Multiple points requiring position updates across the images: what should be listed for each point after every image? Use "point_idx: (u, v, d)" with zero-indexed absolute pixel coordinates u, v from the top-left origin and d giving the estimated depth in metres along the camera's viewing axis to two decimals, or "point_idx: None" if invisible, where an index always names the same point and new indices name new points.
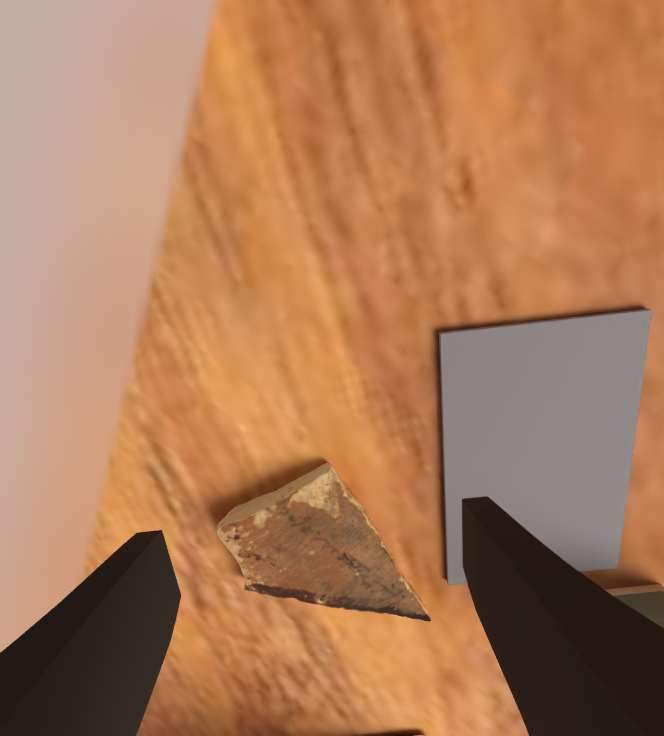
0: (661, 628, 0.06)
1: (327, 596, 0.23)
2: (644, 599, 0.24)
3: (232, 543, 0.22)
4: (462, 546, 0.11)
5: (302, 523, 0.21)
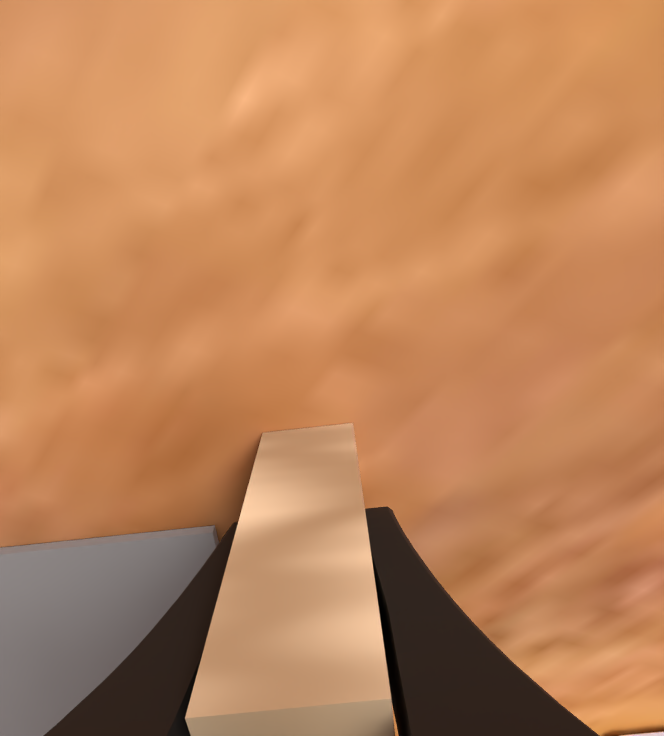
0: (490, 645, 0.06)
1: None
2: None
3: None
4: None
5: None
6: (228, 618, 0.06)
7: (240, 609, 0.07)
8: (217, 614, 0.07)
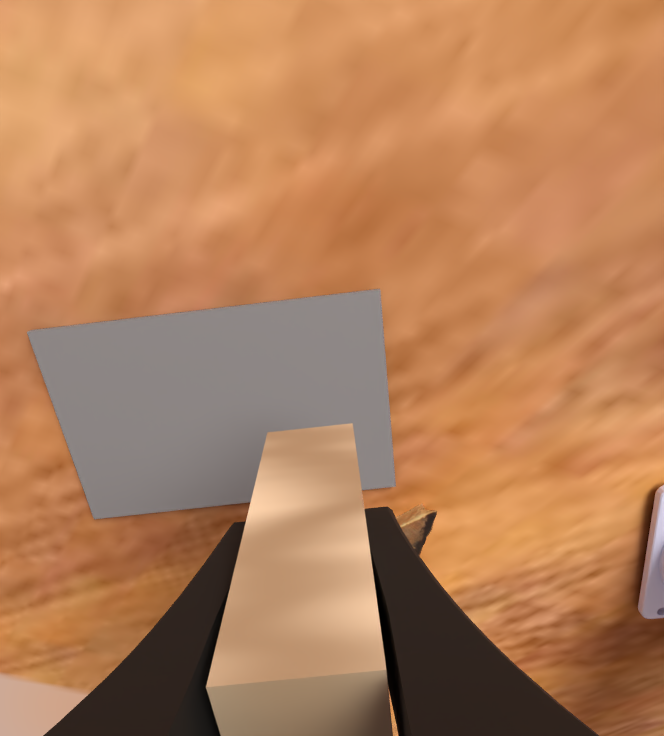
0: (490, 645, 0.06)
1: None
2: None
3: None
4: None
5: None
6: (241, 602, 0.07)
7: (251, 594, 0.07)
8: (230, 599, 0.07)
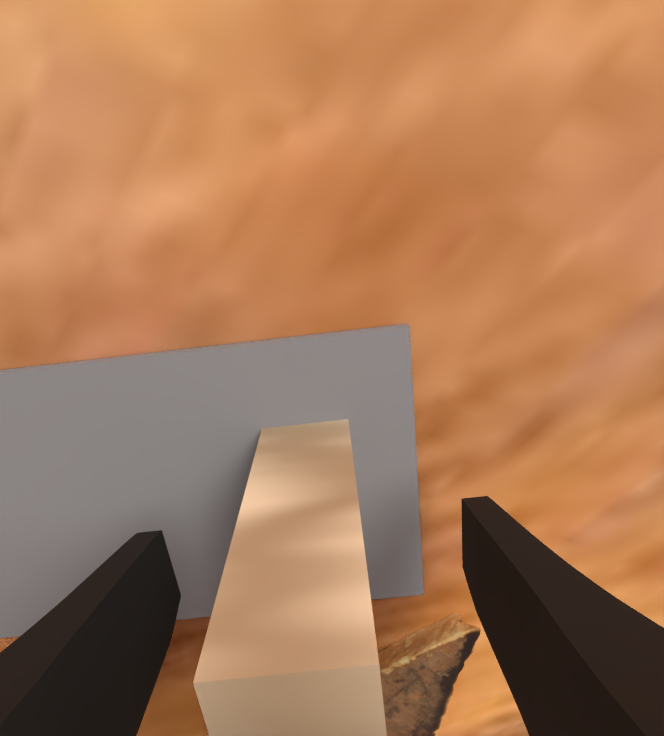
0: (661, 628, 0.06)
1: None
2: None
3: None
4: (462, 546, 0.11)
5: None
6: (231, 597, 0.07)
7: (242, 589, 0.07)
8: (221, 593, 0.07)
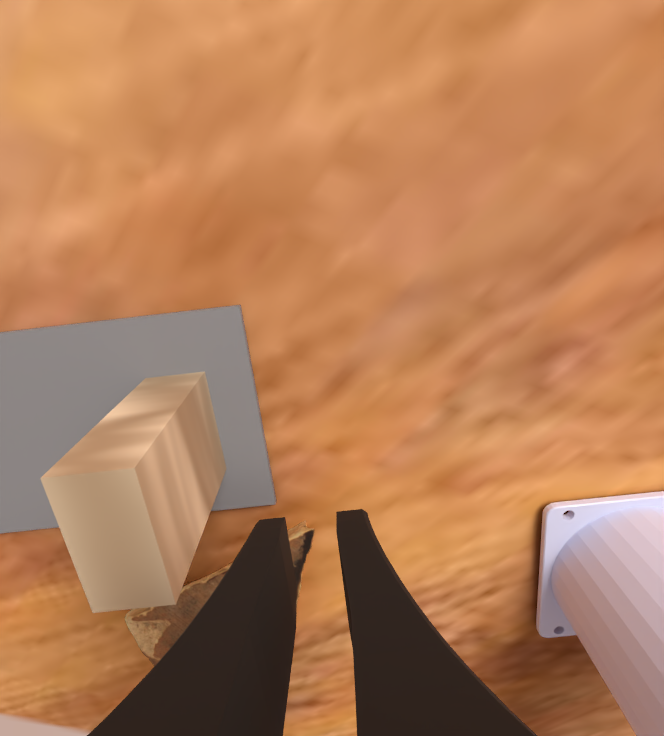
0: (447, 649, 0.06)
1: None
2: None
3: None
4: None
5: None
6: (77, 450, 0.12)
7: (84, 447, 0.12)
8: (72, 449, 0.12)
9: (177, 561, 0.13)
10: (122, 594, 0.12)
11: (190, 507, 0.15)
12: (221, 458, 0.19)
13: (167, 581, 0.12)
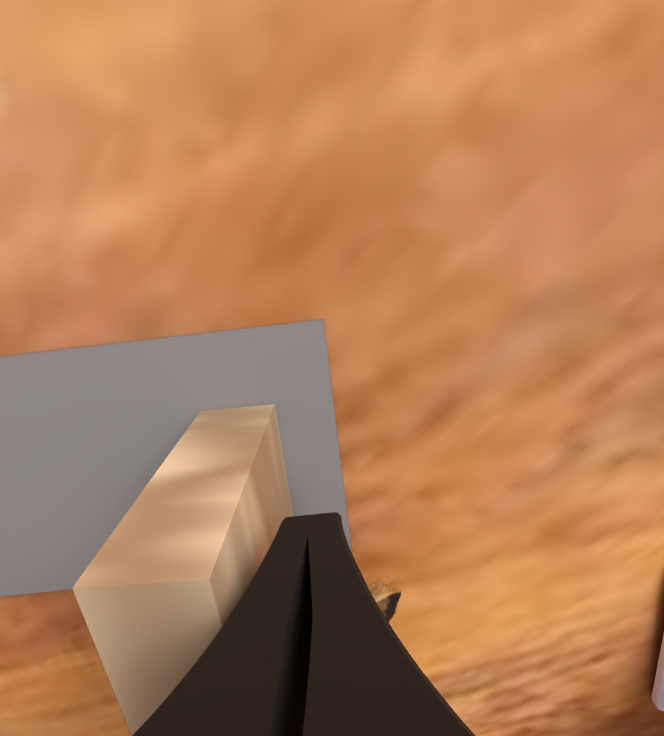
0: (402, 653, 0.06)
1: None
2: None
3: None
4: None
5: None
6: (122, 533, 0.09)
7: (133, 528, 0.09)
8: (116, 531, 0.09)
9: None
10: None
11: None
12: (290, 510, 0.15)
13: None
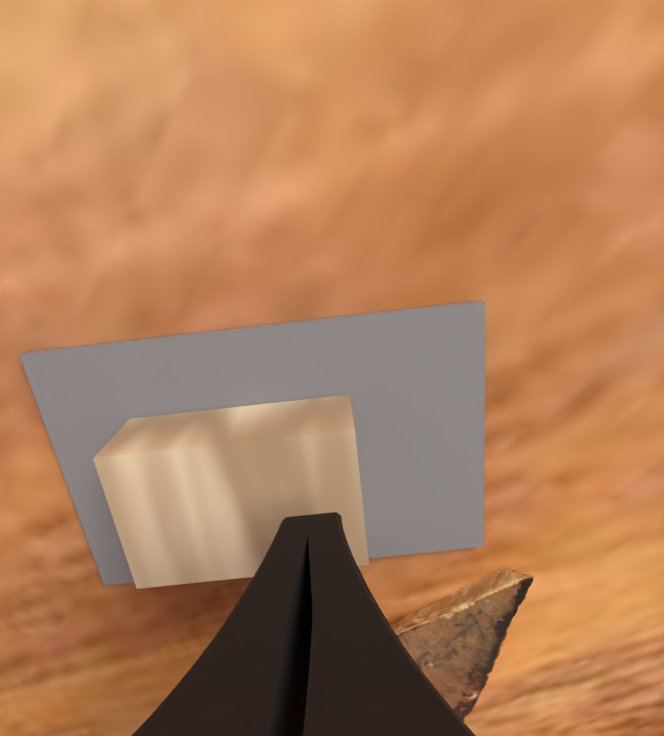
0: (402, 654, 0.06)
1: (465, 690, 0.18)
2: None
3: None
4: None
5: None
6: (168, 417, 0.14)
7: (170, 419, 0.14)
8: (173, 415, 0.14)
9: (154, 564, 0.13)
10: None
11: (210, 542, 0.13)
12: (354, 545, 0.13)
13: (129, 565, 0.13)
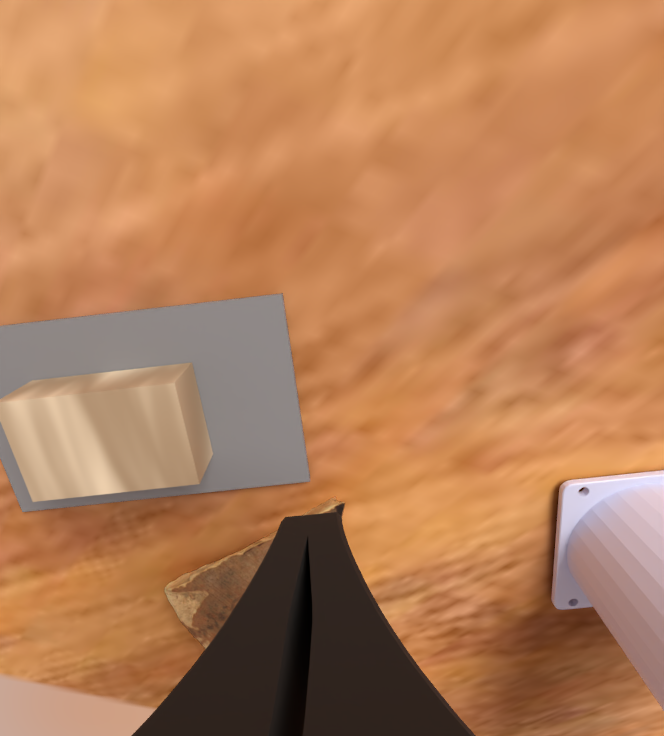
0: (402, 653, 0.06)
1: None
2: None
3: None
4: None
5: (214, 619, 0.23)
6: (58, 379, 0.19)
7: (59, 380, 0.19)
8: (63, 377, 0.19)
9: (44, 482, 0.18)
10: None
11: (83, 466, 0.18)
12: (186, 469, 0.18)
13: (26, 484, 0.18)
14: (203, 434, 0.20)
